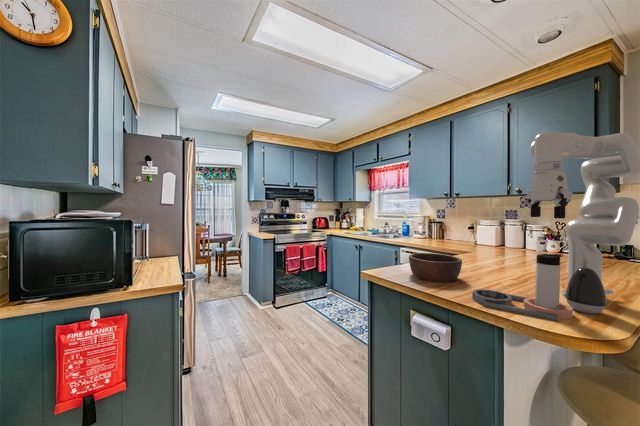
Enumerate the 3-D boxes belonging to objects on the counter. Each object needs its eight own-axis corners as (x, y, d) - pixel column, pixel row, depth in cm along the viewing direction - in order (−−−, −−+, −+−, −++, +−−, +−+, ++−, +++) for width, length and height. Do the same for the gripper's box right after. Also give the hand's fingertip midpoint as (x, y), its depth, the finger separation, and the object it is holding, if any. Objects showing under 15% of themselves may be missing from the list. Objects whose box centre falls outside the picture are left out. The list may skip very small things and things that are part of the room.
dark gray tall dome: (559, 308, 92) (560, 266, 92) (571, 303, 97) (572, 263, 97) (600, 319, 83) (602, 272, 83) (610, 313, 88) (612, 269, 88)
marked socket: (549, 305, 96) (550, 298, 95) (582, 319, 83) (583, 311, 83) (515, 304, 96) (515, 297, 96) (543, 318, 84) (543, 311, 84)
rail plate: (470, 303, 96) (470, 296, 96) (475, 292, 110) (475, 286, 109) (557, 321, 82) (558, 313, 82) (551, 305, 95) (551, 298, 95)
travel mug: (564, 315, 86) (566, 256, 85) (542, 314, 87) (543, 255, 87) (552, 308, 92) (553, 252, 92) (530, 307, 93) (532, 252, 93)
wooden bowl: (453, 272, 143) (454, 254, 142) (468, 286, 118) (469, 263, 118) (406, 269, 148) (406, 251, 148) (411, 281, 124) (411, 260, 124)
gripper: (583, 164, 82) (582, 218, 82) (538, 171, 99) (537, 216, 99) (559, 165, 82) (558, 219, 82) (518, 172, 99) (517, 216, 100)
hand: (546, 217), depth 91 cm, fingers open, 9 cm apart
